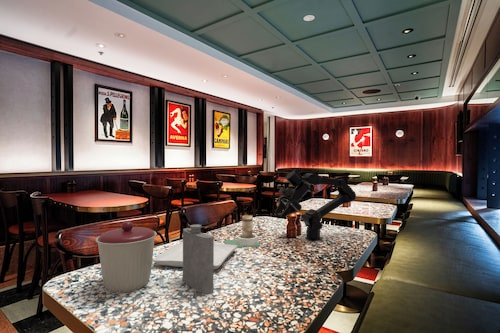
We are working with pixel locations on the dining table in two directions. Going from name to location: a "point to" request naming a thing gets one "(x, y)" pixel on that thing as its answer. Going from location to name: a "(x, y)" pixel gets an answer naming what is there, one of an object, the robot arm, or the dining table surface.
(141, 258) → the canister
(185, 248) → the hip flask
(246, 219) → the tan tapered tumbler
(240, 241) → the octagonal cup coaster
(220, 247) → the square plate
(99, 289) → the dining table surface
